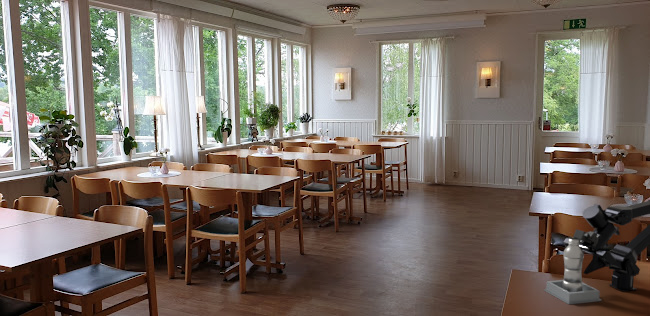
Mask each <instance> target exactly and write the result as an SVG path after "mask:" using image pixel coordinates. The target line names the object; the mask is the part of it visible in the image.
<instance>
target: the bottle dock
mask: <svg viewBox="0 0 650 316" xmlns="http://www.w3.org/2000/svg"><path fill="white" fill-rule="evenodd" d="M563 280H564V279H559V280H548V281H546V287H545V288H544V289H543V291H544V292H546V293H548V294H549V295H552V296H554V297H555V298H557V299H559V300H560V301H562V302H564V303H565V304H567V305H577V304H584V303H585V304H586V303H593V302H594V303H595V302H602V299H601V298H600V290H599V289H597V288H595V287H592V286H591V285H589V284H587V283H585V282H583V281H582V284H583V290H582V291H579V292H568V291H566V290H564V289H563V288H562V283H563Z"/></svg>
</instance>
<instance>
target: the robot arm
mask: <svg viewBox="0 0 650 316" xmlns="http://www.w3.org/2000/svg"><path fill="white" fill-rule="evenodd" d="M581 214H582V217H583V218H584V219H585V220H586V222H587V223H588V224H589V225H590V226H591V228H593V231H584V230H579V229H577V228H576V229H575V232H574V234H573V235H572V238H578V239H580V245H579V246H580V248H581V249H582V251H583V253H584V254H585V253H586V254H588V255H592V259H591V261H590V262H589V263H588V265H587V266H586V268H585V269H584V270H583V274H584V275H588V274H590V273H591V274H592V273H593V272H595V271H597V270H600V269H603V268H605V267H606V268H608V269H610V270H612V275H611V283H608V286H609V285H610V287H611V286H612V288H613V287H614V289H615V290H618V291H620V292H630V291H629V290H632V291H637V288H636V287H634V281H635V280H634V279H635V278H634V277H636V276H639V274H640V271H641V268H639V266H638V265H637V262H638V256H639V255H640V254H641V253H642V252H643V251H644V250H646V249H647V247H649V246H650V224H648V225H647V226H645V228H644V229H643V230H642V231H640V232H639V233H638V234H636V236H635V237H633V238H632V239H631V240H630V241H629V242H628V243H627V244H625V245H621V244H616V245H615V246H613V248H612V249H609V250H607V249H604V248H605V247H606V248H607V247H609V243H608V242H609V241H610V239H611V238H612V237H613V235H615V236H620V235H621V234H620V228H619V227H618V226H616V225H619V226H626V225H627V224H630V223H632V222H633V219H636V218H639V217H643V216H647V215H650V199H648V200H646V201H642V202H640V203H639V202H638V203H635V204H630V205H627V206H620V205H619V206H618V205H617V206H616V205H615V206H612V205H611V206H608V207H606V208H605V209H603V208H602V206H601V205H600V204H598V203H594V204H593V205H591V206H588V207H587V208H585V209H584V210H583V211H582V213H581ZM614 224H615V225H614ZM569 238H570V237H566V238H565V239H564V241H562V243H563V244H564V247H565V248H566V247H567V246H568V245H569V244H568V240H569ZM563 265H564V267H565V264H564V263H563Z"/></svg>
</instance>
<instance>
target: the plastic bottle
mask: <svg viewBox="0 0 650 316" xmlns="http://www.w3.org/2000/svg"><path fill="white" fill-rule="evenodd" d="M568 238H569V240H568V244H569V245H568V246H567V247H566V246H565V248H564V250H563V261H564V262H563V265H564V264H565V266H564V275H563V279H562V280H563V283H562V288H563V289H564V290H566V291H568V292H579V291H582V290H583V284H582V282H583V281H582V280H583V277H582V272H583V271H582V269H583V264H584V263H583V262H584V257H585V252H583V251H582V249H581V248H580V246H579V245H581V243H580V239H578V238H573V237H568Z"/></svg>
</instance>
